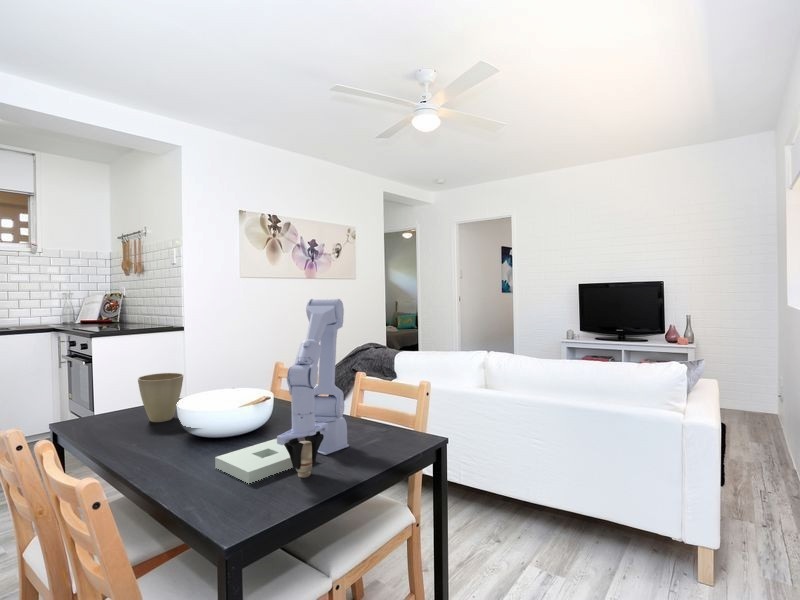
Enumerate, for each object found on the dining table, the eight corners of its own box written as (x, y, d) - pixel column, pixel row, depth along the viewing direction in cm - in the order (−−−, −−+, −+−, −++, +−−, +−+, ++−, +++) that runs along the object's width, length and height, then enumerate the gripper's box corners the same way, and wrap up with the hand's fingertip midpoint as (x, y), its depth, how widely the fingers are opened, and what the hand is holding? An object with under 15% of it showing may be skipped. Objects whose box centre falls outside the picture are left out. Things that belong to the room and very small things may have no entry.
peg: (305, 470, 118) (305, 439, 118) (315, 474, 115) (315, 443, 115) (292, 475, 115) (292, 444, 114) (302, 479, 112) (302, 447, 112)
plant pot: (144, 428, 156) (143, 382, 156) (134, 419, 167) (133, 376, 167) (190, 419, 166) (189, 376, 166) (177, 411, 177) (176, 371, 177)
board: (279, 447, 135) (279, 437, 135) (314, 460, 125) (313, 449, 125) (215, 468, 120) (215, 457, 120) (248, 484, 110) (248, 472, 109)
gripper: (288, 421, 106) (289, 478, 107) (335, 408, 117) (336, 460, 118) (271, 416, 111) (272, 471, 111) (317, 404, 122) (318, 454, 122)
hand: (304, 465), depth 115 cm, fingers closed on peg, 4 cm apart
